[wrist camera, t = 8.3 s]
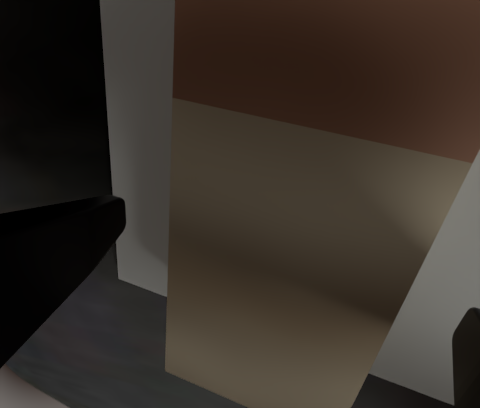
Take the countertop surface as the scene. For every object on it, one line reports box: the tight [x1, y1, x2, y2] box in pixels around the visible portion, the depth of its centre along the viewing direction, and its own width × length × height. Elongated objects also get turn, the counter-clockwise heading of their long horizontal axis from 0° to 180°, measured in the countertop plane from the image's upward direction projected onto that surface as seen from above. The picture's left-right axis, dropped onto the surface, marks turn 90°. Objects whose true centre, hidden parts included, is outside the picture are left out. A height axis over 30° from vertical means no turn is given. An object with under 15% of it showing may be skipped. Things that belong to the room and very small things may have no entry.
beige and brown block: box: [165, 0, 480, 408], centre depth 10 cm, size 12×6×4 cm, turn 172°
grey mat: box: [100, 0, 480, 405], centre depth 12 cm, size 16×14×1 cm
